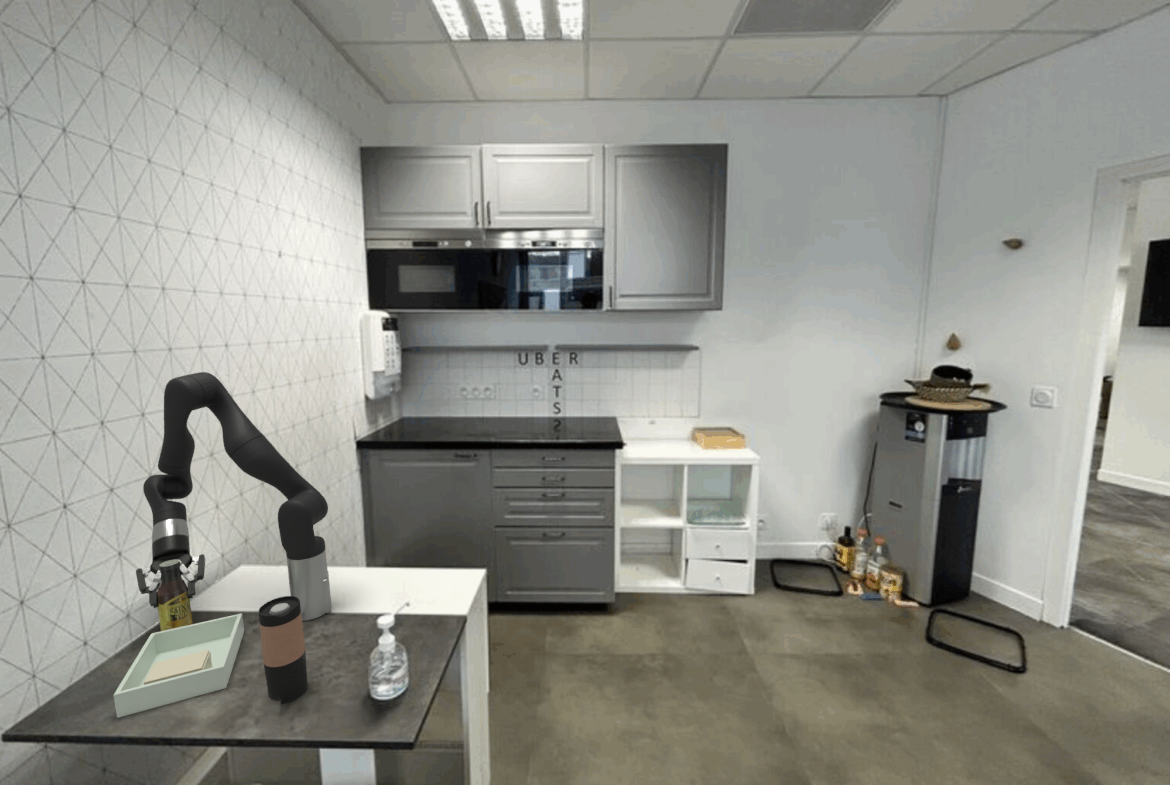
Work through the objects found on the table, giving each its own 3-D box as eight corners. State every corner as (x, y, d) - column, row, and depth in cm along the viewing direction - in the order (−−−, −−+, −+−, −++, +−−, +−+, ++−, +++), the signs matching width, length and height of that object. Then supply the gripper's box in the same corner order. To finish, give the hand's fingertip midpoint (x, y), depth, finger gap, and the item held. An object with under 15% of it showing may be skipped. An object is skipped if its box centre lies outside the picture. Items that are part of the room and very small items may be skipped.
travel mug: (282, 678, 110) (273, 595, 108) (316, 679, 110) (308, 595, 107) (259, 705, 103) (248, 616, 100) (295, 705, 103) (285, 616, 100)
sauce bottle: (175, 646, 122) (164, 571, 119) (155, 643, 123) (143, 569, 120) (201, 630, 129) (190, 558, 126) (181, 627, 130) (170, 556, 127)
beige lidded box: (212, 669, 112) (210, 649, 112) (205, 689, 106) (202, 668, 105) (156, 683, 108) (153, 662, 107) (145, 705, 102) (142, 683, 101)
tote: (244, 635, 126) (241, 613, 125) (226, 691, 107) (223, 666, 106) (154, 656, 118) (151, 633, 118) (117, 722, 99) (113, 695, 98)
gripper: (131, 541, 124) (131, 607, 116) (203, 527, 133) (207, 587, 125) (137, 554, 129) (137, 617, 121) (206, 539, 138) (210, 597, 130)
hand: (173, 601), depth 123 cm, fingers closed on sauce bottle, 6 cm apart
